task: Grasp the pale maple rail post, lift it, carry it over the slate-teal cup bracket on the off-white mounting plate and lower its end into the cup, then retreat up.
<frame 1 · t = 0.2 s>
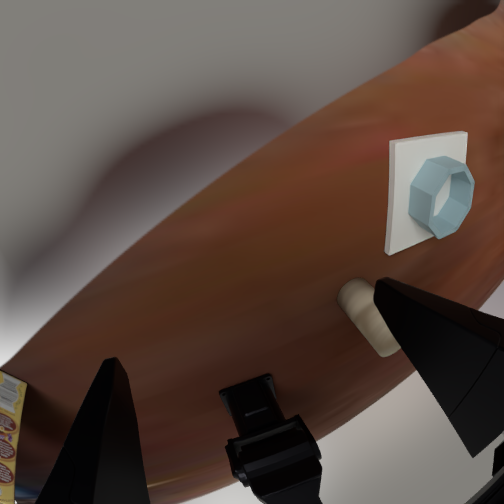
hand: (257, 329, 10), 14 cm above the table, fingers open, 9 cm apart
rail post: (352, 293, 33), on the table
candy box: (6, 391, 24), on the table
cup bracket: (427, 188, 29), on the table
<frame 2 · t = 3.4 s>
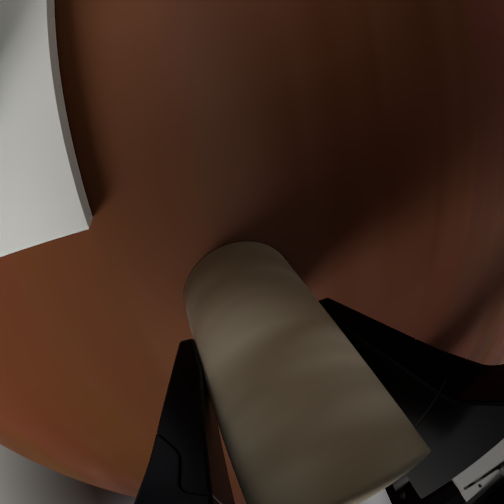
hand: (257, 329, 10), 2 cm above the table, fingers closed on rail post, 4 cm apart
rail post: (238, 291, 11), on the table, touching gripper
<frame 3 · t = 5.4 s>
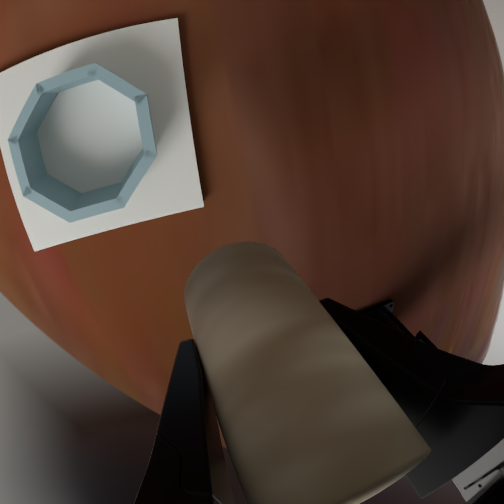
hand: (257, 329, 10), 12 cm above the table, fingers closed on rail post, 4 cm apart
rail post: (239, 291, 11), point 10 cm above the table, touching gripper
cup bracket: (91, 135, 16), on the table
when the fingers open (4 cm above the table, at t = 7.8 s): rail post drops 1 cm, resting on cup bracket.
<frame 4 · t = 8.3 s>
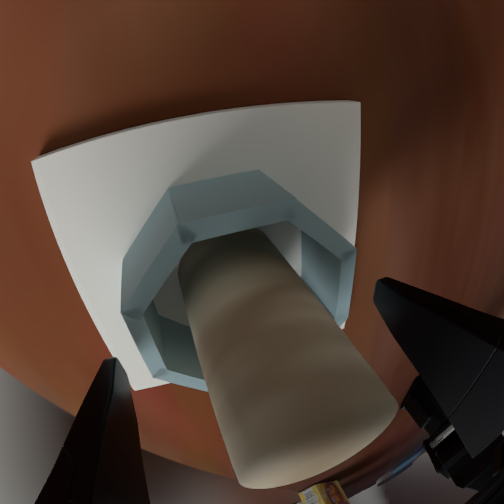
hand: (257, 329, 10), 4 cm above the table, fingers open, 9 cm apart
rail post: (228, 269, 12), point 1 cm above the table, touching cup bracket
candy box: (317, 485, 43), on the table
cup bracket: (222, 259, 13), on the table
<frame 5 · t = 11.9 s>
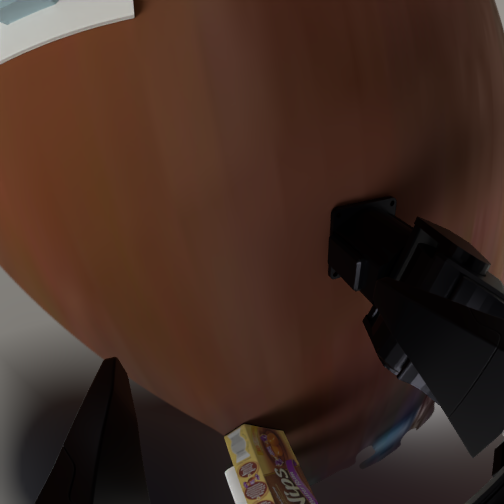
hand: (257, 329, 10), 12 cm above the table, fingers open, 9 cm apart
cylindrical container: (244, 467, 44), on the table
candy box: (253, 433, 38), on the table
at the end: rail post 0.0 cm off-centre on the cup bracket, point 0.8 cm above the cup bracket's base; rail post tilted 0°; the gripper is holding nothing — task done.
